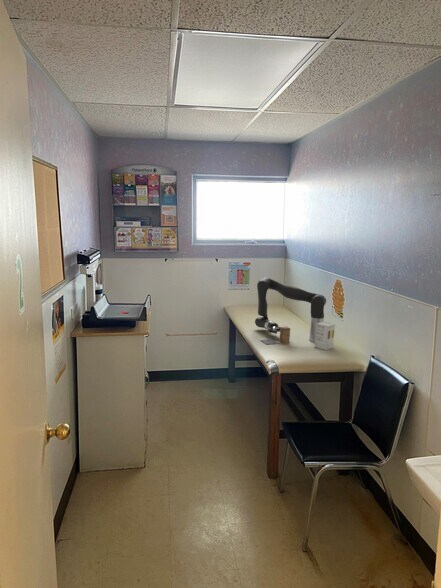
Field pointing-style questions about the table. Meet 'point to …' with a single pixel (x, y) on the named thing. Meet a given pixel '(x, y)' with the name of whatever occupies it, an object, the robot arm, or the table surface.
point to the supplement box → (324, 335)
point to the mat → (269, 341)
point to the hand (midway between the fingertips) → (281, 332)
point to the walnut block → (284, 335)
